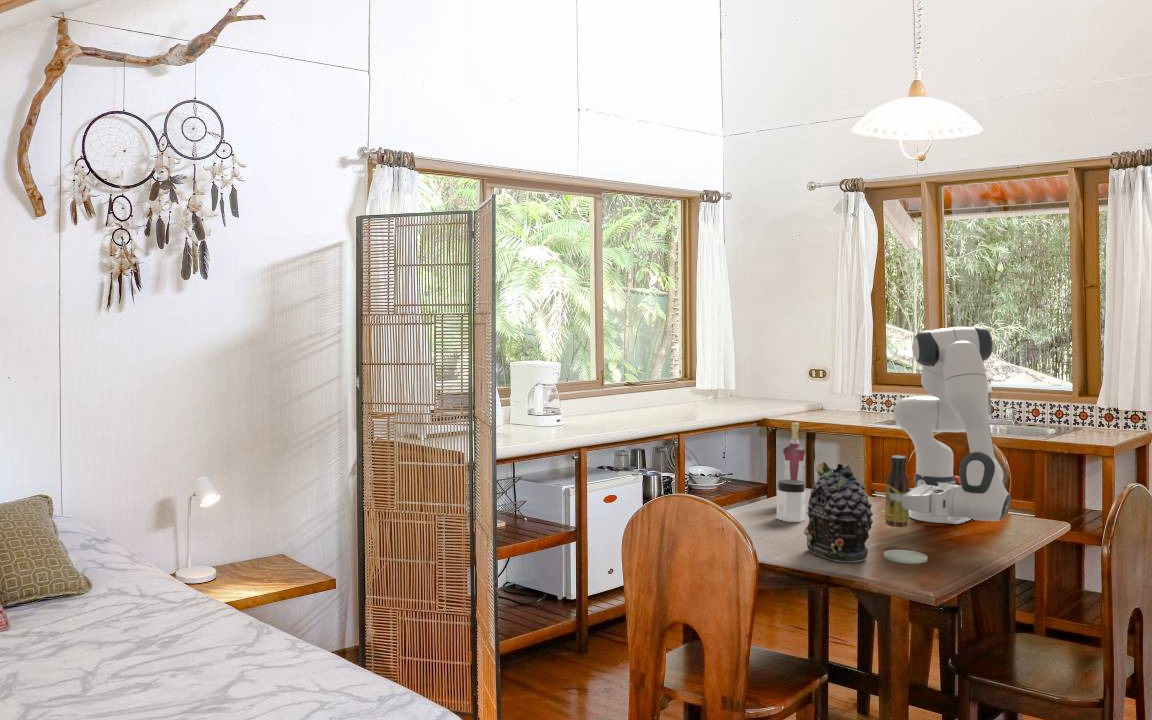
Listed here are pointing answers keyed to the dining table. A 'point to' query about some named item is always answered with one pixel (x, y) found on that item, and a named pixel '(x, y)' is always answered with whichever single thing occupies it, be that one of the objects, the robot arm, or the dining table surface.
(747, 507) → the dining table surface
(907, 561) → the round plate
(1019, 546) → the dining table surface
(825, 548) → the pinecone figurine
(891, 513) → the sauce bottle
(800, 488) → the jar
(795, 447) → the liquor
